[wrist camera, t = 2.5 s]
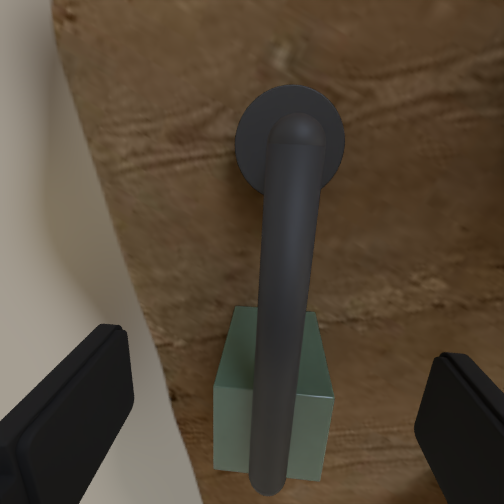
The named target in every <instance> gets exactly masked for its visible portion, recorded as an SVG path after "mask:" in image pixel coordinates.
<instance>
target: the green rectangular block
mask: <svg viewBox="0 0 504 504" xmlns="http://www.w3.org/2000/svg"><path fill="white" fill-rule="evenodd" d="M257 311H258V307H246V306H235V308H234V312H233V316H232V319H231V323H230V327H229V330H228V334H227V338H226V341H225V345H224V349H223V352H222V356H221V360H220V363H219V367H218V371H217V374H216V378H215V382H214V385H213V468H214V469H216V470H224V471H233V472H241V473H249V453H250V436H251V418H252V400H253V382H254V365H255V347H256V329H257ZM334 400H335V397H334V393H333V388H332V384H331V379H330V375H329V371H328V366H327V362H326V357H325V353H324V348H323V344H322V340H321V335H320V331H319V326H318V322H317V318H316V313H315V312H308V311H306V316H305V324H304V333H303V341H302V349H301V358H300V366H299V374H298V383H297V391H296V400H295V408H294V416H293V425H292V433H291V441H290V450H289V458H288V466H287V475H286V478H292V479H301V480H309V481H318V482H319V481H320V479H321V473H322V468H323V462H324V456H325V451H326V445H327V439H328V434H329V428H330V423H331V417H332V411H333V406H334Z"/></svg>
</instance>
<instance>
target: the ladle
mask: <svg viewBox="0 0 504 504" xmlns="http://www.w3.org/2000/svg"><path fill="white" fill-rule="evenodd" d="M344 145H345V134H344V128H343V124H342V121H341V118H340V116H339V114H338V112H337V110H336V108H335V107H334V105H333V104H332V103H331V102H330V101H329V100H328V99H327V98H326V97H325V96H324V95H322V94H321V93H319V92H318V91H316V90H314V89H312V88H309V87H306V86H302V85H283V86H278V87H275V88H272V89H270V90H268V91H266V92H264V93H263V94H261V95H260V96H258V97H257V98H256V99H255V100H254V101H253V102H252V103H251V104H250V105H249V106H248V108H247V109H246V111H245V112H244V114H243V115H242V117H241V120H240V122H239V125H238V127H237V131H236V136H235V153H236V159H237V163H238V166H239V168H240V170H241V173H242V174H243V176H244V178H245V179H246V180H247V182H248V183H249V184H250V185H251V186H252V187H253V188H254V189H256V190H257V191H258V192H260V193H261V194H263V195H264V205H263V222H262V240H261V258H260V276H259V294H258V311H257V329H256V347H255V365H254V382H253V400H252V418H251V436H250V453H249V479H250V482H251V485H252V486H253V488H254V489H255V490H256V491H257V492H258V493H259V494H261V495H263V496H273V495H275V494H277V493H278V492H279V491H280V490H281V489H282V488H283V486H284V484H285V480H286V475H287V466H288V458H289V450H290V441H291V433H292V425H293V416H294V408H295V400H296V391H297V383H298V374H299V366H300V358H301V349H302V341H303V333H304V324H305V316H306V308H307V299H308V291H309V283H310V274H311V266H312V257H313V249H314V241H315V232H316V224H317V216H318V207H319V199H320V191H321V189H322V188H323V187H324V186H325V185H326V184H327V183H328V182H329V181H330V180H331V179H332V177H333V176H334V174H335V173H336V171H337V169H338V167H339V165H340V163H341V160H342V157H343V152H344Z"/></svg>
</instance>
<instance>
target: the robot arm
mask: <svg viewBox="0 0 504 504" xmlns="http://www.w3.org/2000/svg"><path fill="white" fill-rule="evenodd" d="M133 403H134V391H133V382H132V372H131V363H130V354H129V345H128V336H127V332H126V331H125V330H122V327H121V326H120V325H113V324H112V325H111V324H100V325H98V326H97V327H96V328H95V329H94V330H93V331H92V332H91V333H90V334H89V335H88V336H87V337H86V338H85V339H84V340H83V341H82V342H81V343H80V344H79V345H78V346H77V347H76V348H75V349H74V350H73V351H72V352H71V353H70V354H69V355H68V356H67V357H66V358H64V359H63V360H62V361H61V362H60V363H59V364H58V365H57V366H56V367H55V368H54V369H53V370H52V371H51V372H50V373H49V374H48V375H47V376H46V377H45V378H44V379H43V380H42V381H41V382H40V383H39V384H38V385H37V386H36V387H35V388H34V389H33V390H32V391H31V392H30V393H29V394H28V395H27V396H26V397H25V398H24V399H23V400H22V401H20V402H19V403H18V405H16V406H15V407H14V408H13V409H12V410H11V411H10V412H9V413H8V414H7V415H6V416H5V417H4V418H3V419H2V420H1V421H0V504H79V503H80V501H81V499H82V497H83V495H84V494H85V492H86V490H87V488H88V486H89V485H90V483H91V481H92V479H93V477H94V476H95V474H96V472H97V470H98V468H99V467H100V465H101V463H102V461H103V460H104V458H105V456H106V454H107V453H108V451H109V449H110V447H111V445H112V444H113V442H114V440H115V438H116V436H117V434H118V433H119V431H120V429H121V427H122V426H123V424H124V422H125V420H126V419H127V417H128V415H129V413H130V411H131V409H132V407H133ZM414 432H415V436H416V439H417V441H418V443H419V445H420V447H421V449H422V451H423V453H424V455H425V458H426V460H427V462H428V464H429V466H430V468H431V470H432V472H433V474H434V476H435V478H436V480H437V482H438V484H439V486H440V488H441V490H442V492H443V494H444V496H445V498H446V500H447V503H448V504H504V393H503V392H502V391H501V390H500V389H499V388H498V387H497V386H496V385H495V384H494V383H493V382H492V381H491V379H490V378H489V377H488V376H487V375H486V374H485V373H484V372H483V371H482V370H481V369H480V368H479V367H478V366H477V365H476V364H475V362H474V361H473V360H472V359H471V358H470V357H469V356H467V355H466V354H460V353H448V352H443V353H441V354H440V356H439V357H436V358H434V361H433V364H432V367H431V370H430V374H429V377H428V381H427V384H426V387H425V391H424V394H423V397H422V401H421V404H420V408H419V411H418V414H417V418H416V421H415V425H414Z"/></svg>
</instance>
